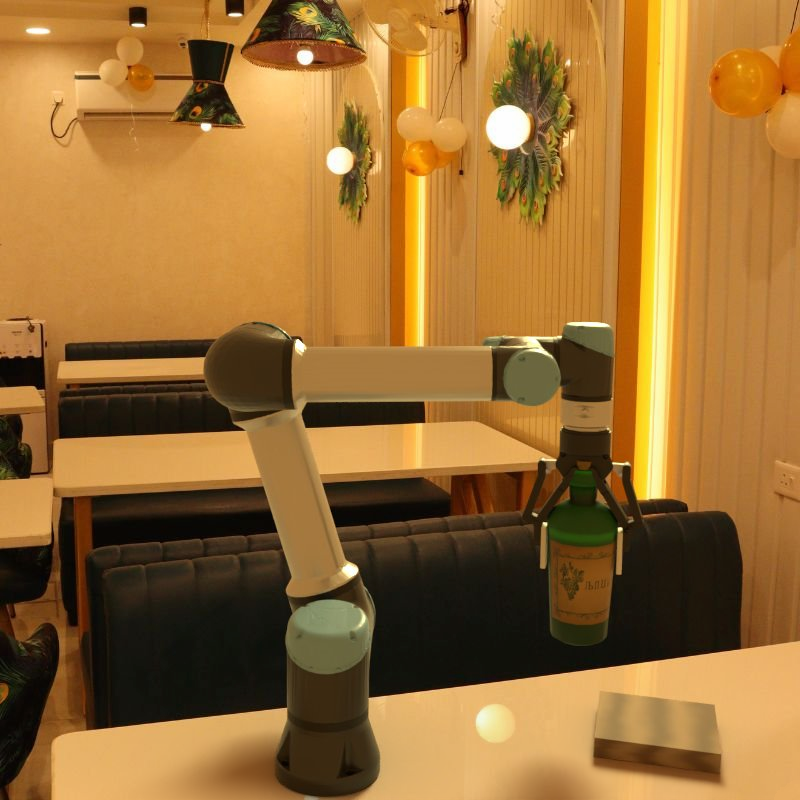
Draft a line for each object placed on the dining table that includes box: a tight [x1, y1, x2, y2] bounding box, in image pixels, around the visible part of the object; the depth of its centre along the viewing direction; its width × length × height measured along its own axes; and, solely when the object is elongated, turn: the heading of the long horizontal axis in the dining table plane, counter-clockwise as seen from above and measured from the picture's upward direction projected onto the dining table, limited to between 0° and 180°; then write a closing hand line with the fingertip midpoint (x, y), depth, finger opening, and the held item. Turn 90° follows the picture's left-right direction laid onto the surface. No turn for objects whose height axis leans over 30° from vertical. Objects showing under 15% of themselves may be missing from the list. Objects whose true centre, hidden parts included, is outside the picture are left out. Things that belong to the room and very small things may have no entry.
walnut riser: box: [593, 690, 722, 774], centre depth 154 cm, size 18×16×3 cm
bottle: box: [546, 461, 619, 647], centre depth 152 cm, size 11×11×28 cm
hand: (580, 568), depth 153 cm, fingers closed on bottle, 11 cm apart
